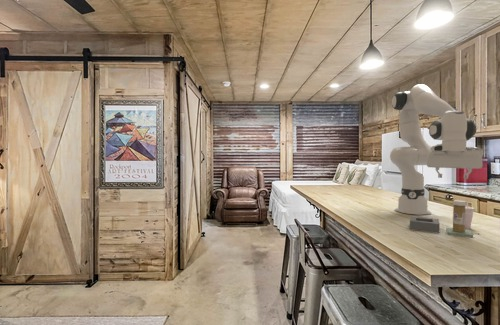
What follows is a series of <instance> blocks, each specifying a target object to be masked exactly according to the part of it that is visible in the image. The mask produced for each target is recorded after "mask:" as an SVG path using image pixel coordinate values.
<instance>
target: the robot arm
mask: <svg viewBox="0 0 500 325" xmlns="http://www.w3.org/2000/svg"><path fill="white" fill-rule="evenodd" d="M391 104H392V108H393V109H394V110H396V111H399V114H398V127H399V128H398V129H399V136H400V139H401V140H402V141H403V142H405V143H407V145H409V146H399V147H395V148H393V149H392V150H391V152H390V154H389V159H390V161H391V162H392V163H393V164H394V165H395V166H396V167H397V168H398V170H399V171H400V175H401V182H402V183H401V184H402V185H401V186H402V187H401V191H400V192H401V195H400V196H399V197H398V199H397V200H398V201H397V202H398V204H397V207H396V208H394V211H395V212H399V213H402V214H403V213H404V214H408V215H432V212H431V210H429V209H428V207H429V206H428V199H427V198H426V197H425V193H426V191H425V188H424V187H425V186H424V185H425V177H424V175H423V174H422V173H421V172H420V171H417V169H416V167H415V166H426V167H428V168H435V171H436V173H437V177H438V179H440V178H441V179H442V178H443V173H440V172H439V171H440V169H443V168H444V169H466V170H467V172H466V173H465V174H463V179H464V180H469V175H470V174H471V173H472V172H473V169H475V170H476V169H477V170H479V169H482V168H483V166H484V165H483V156H484V153H485V152H484V150H483V148H481V147H479V146H474V147H473V146H467V141H469V140H471V139H472V138H473V137H474V136H475V135H476V132H477V126H476V125H477V124H475V122H474V121H473V120H472V119H470V118H467V115H466V114H467V113H466V112H465V111H463V110H458V109H457V108H456V107H455V106H453V105H452V104H451V103H449V102H447V101H446V100H444V99H442V98H440V97H439V96H437V94H436V93H435V92H434V91H433V90H432V88H430V87H429V86H428V85H426V84H423V83H421V84H419V83H418V84H416V85H414V86H413V87H412V88H411V89H410V90H408V91H407V90H406V91H399V92H396V93H394V95H393V96H392V98H391ZM419 113H420V114H422V115H426V116H437V117H441V118H439V119H436V120H434V121H433V122H432V123H431V124H430V125H429V129H428V134H429V136H430V138H432V139H433V140H436V141H441V143H438V144H435V145H432V146H431V145H429V144H428V143H427V141H426V140H425V138H424V137H423V134H422V128H421V122H420V118H419V117H420V115H419Z"/></svg>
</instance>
